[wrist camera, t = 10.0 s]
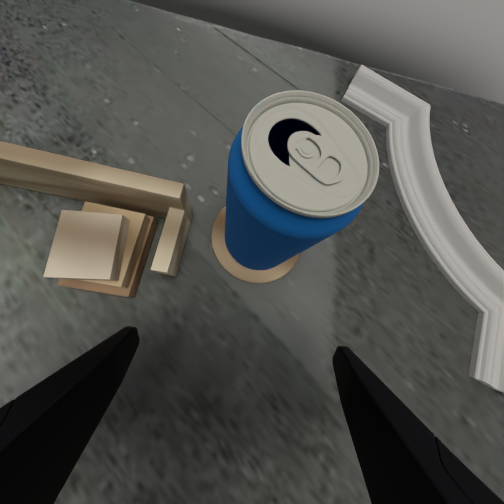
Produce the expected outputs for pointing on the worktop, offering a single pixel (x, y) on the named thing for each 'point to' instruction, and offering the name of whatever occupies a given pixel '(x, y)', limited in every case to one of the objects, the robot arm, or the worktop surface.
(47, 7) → the worktop surface
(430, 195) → the molding
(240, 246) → the beverage can
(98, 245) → the offcut stack
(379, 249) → the worktop surface
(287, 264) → the cork coaster
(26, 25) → the worktop surface
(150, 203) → the rack
